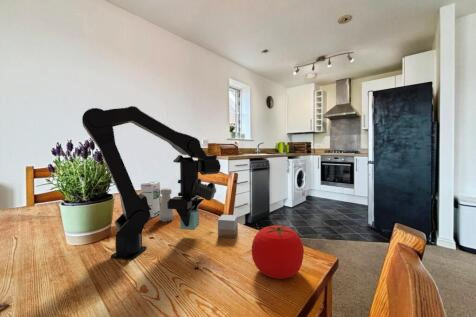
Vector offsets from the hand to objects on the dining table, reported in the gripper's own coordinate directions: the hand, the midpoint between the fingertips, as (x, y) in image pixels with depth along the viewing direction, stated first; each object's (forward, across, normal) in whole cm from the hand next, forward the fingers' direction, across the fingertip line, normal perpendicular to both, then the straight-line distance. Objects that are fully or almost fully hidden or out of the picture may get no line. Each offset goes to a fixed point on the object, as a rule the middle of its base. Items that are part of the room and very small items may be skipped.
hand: (189, 223), depth 67 cm
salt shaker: (+4, +14, +16) cm, 22 cm away
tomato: (+4, -15, -28) cm, 32 cm away
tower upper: (+2, +4, -12) cm, 13 cm away
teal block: (+1, 0, 0) cm, 1 cm away
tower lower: (+4, +4, -12) cm, 13 cm away
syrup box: (+4, +19, +26) cm, 33 cm away
